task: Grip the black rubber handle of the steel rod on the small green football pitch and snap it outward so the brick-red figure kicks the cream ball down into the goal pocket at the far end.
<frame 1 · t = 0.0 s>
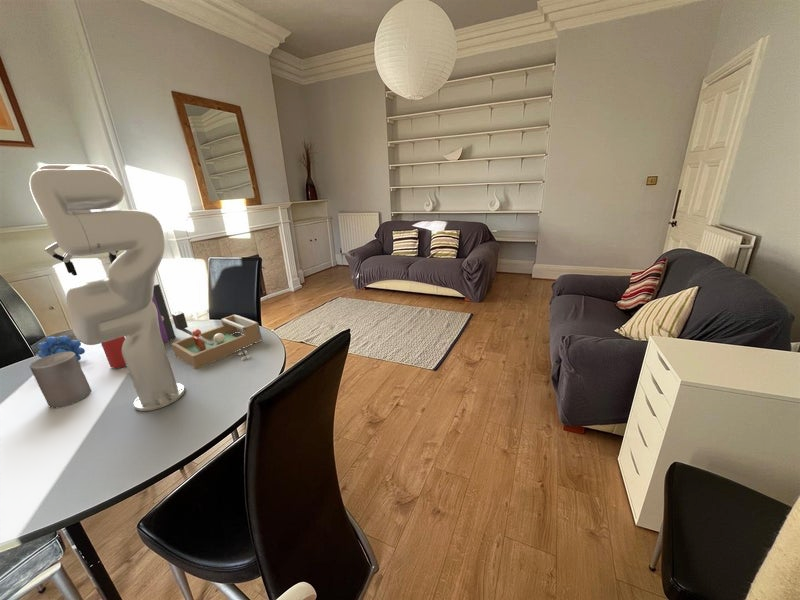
hand: (95, 271, 100), 37 cm above the table, tool pointing down, fingers open, 9 cm apart
beer can: (122, 365, 120), on the table
ball: (219, 338, 127), point 4 cm above the table, touching pitch
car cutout: (247, 362, 118), on the table
pillar candle: (71, 398, 101), on the table
grapes: (67, 366, 121), on the table
pitch: (221, 347, 129), on the table
striker: (189, 330, 125), point 8 cm above the table, slide at 0.0 cm
cereal box: (152, 340, 139), on the table
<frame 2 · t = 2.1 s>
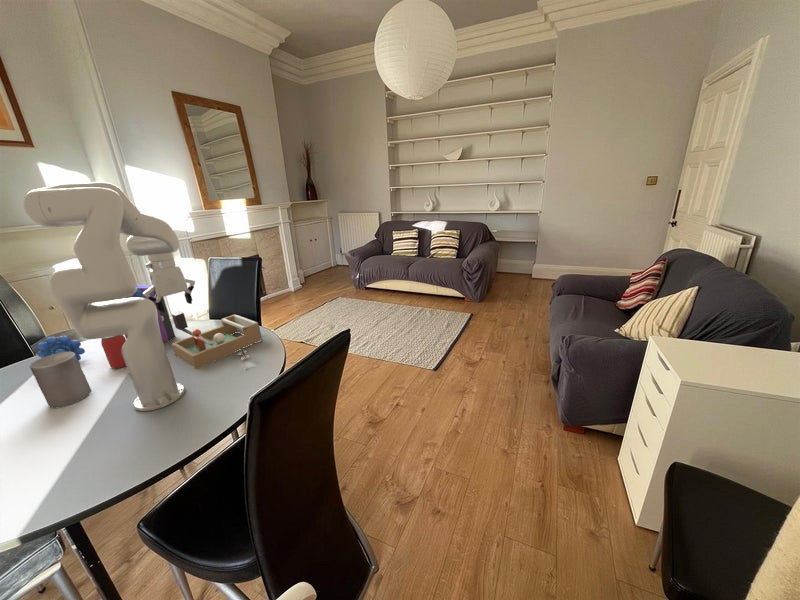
hand: (176, 307, 127), 17 cm above the table, tool pointing down, fingers open, 9 cm apart
nothing on the table moved.
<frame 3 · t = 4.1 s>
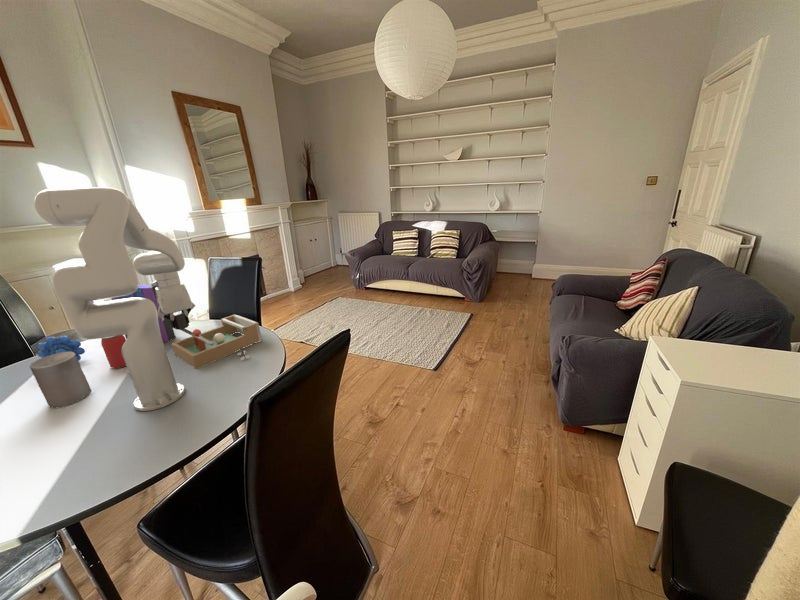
hand: (181, 326, 129), 9 cm above the table, tool pointing down, fingers closed on striker, 3 cm apart
striker: (189, 330, 125), point 8 cm above the table, slide at 0.0 cm, touching gripper
everything else where it was.
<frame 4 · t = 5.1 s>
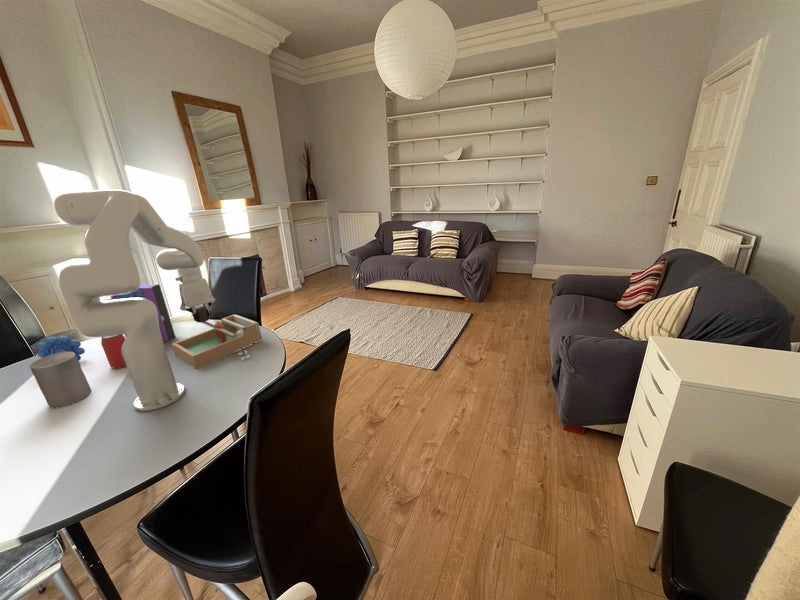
hand: (202, 319, 135), 9 cm above the table, tool pointing down, fingers closed on striker, 3 cm apart
ball: (241, 334, 134), point 2 cm above the table, tilted 100°
striker: (210, 323, 131), point 8 cm above the table, slide at 8.0 cm, touching gripper
everything else where it was.
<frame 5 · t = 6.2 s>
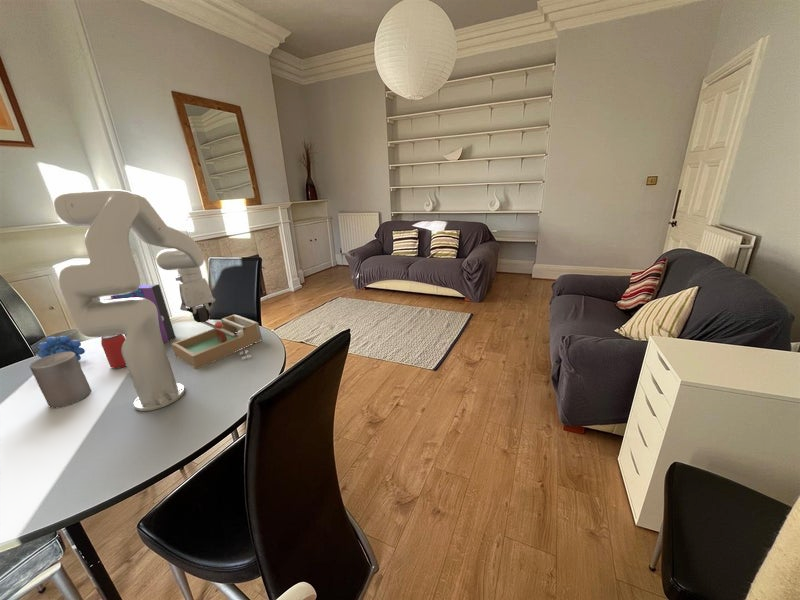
hand: (202, 319, 135), 9 cm above the table, tool pointing down, fingers closed on striker, 3 cm apart
ball: (241, 334, 135), point 2 cm above the table, tilted 91°
striker: (210, 323, 131), point 8 cm above the table, slide at 8.0 cm, touching gripper
everything else where it was.
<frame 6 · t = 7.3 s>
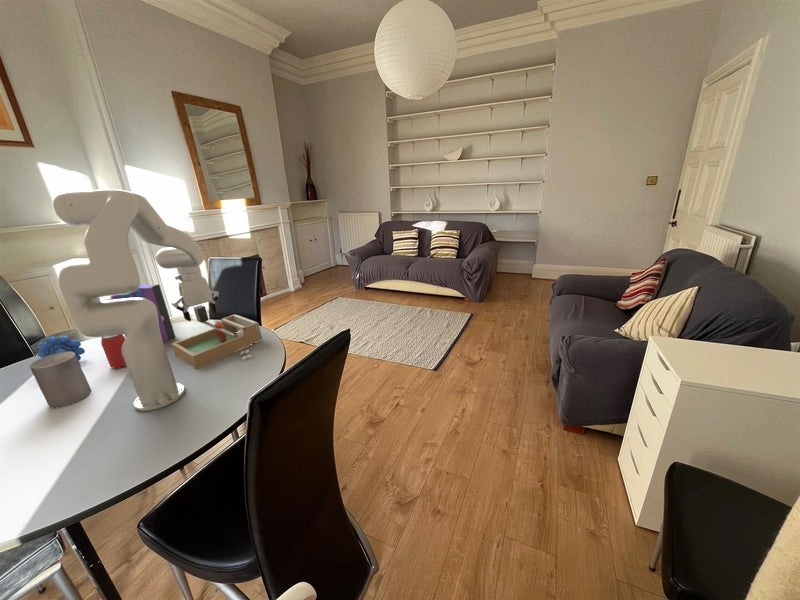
hand: (201, 316, 134), 10 cm above the table, tool pointing down, fingers open, 9 cm apart
striker: (210, 323, 131), point 8 cm above the table, slide at 8.0 cm
everything else where it was.
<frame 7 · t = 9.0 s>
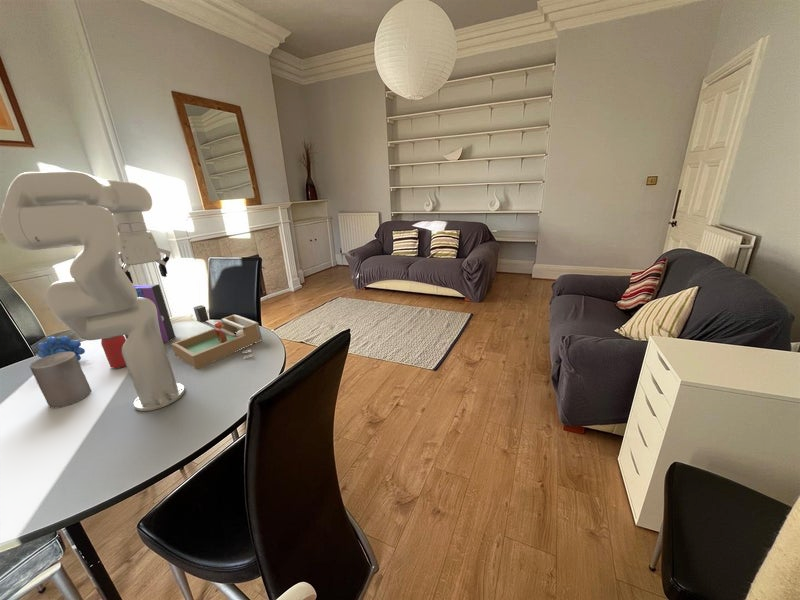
hand: (147, 279, 111), 31 cm above the table, tool pointing down, fingers open, 9 cm apart
nothing on the table moved.
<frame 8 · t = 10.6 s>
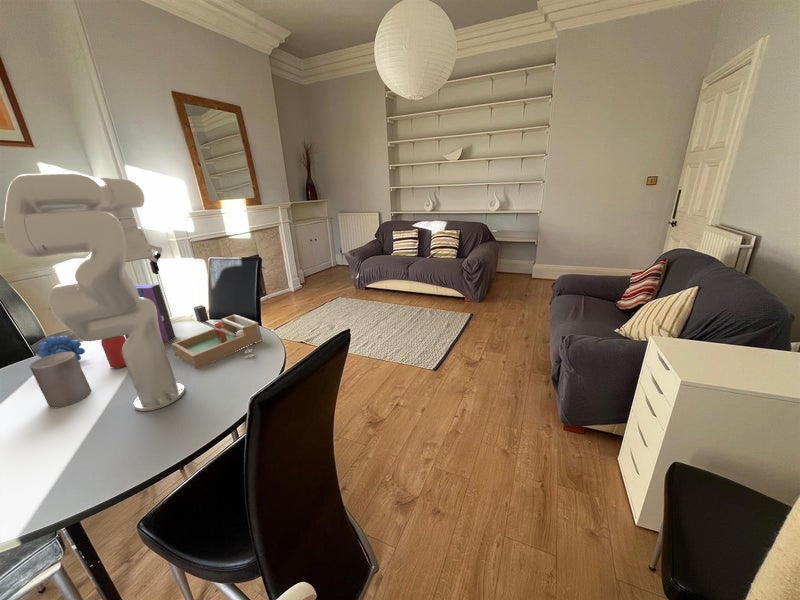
hand: (139, 277, 109), 32 cm above the table, tool pointing down, fingers open, 9 cm apart
at the end: ball inside the target area (0.1 cm from its centre), point 2.0 cm above the table; striker slide at 8.0 cm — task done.
